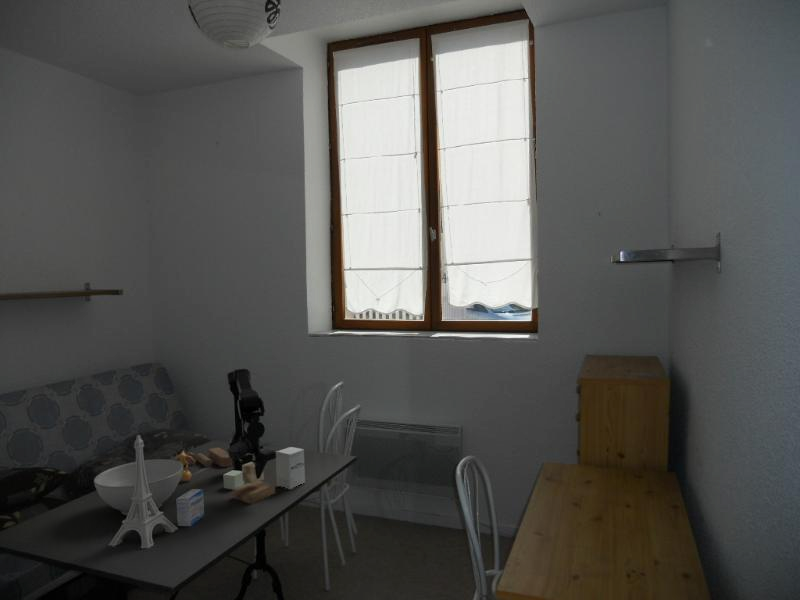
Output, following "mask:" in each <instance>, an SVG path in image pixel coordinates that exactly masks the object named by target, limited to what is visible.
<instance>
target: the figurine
mask: <svg viewBox="0 0 800 600" xmlns="http://www.w3.org/2000/svg"><path fill="white" fill-rule="evenodd" d="M186 454H187V453H185V451H184V450H183V451H181V453H180V454H178V455H177V456H175V457H174V458H173V460H174V461H176V459H177V460H178V458H180V459H181V461H180V463H182V464H184V463H185V465H187V466H185V470H184V469H183V472H182V476H181V479H180V481H182V482H184V483H185V482H188V481H190V480H191V478H192V473H191V471H189V470H188V467H189V466H188V463H187V461H185V459H186V457H188V458H191V459H192V460H193V461H195V463H196V459H195V460H194V459H193V458H192V457H191V456H188V455H186ZM196 464H197V463H196Z"/></svg>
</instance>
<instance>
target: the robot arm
mask: <svg viewBox="0 0 800 600" xmlns="http://www.w3.org/2000/svg"><path fill="white" fill-rule="evenodd" d="M225 378H226V386H228V387H227V388H228V389H229V390H230V393H232V406H233V410H232V411H233V431H232V432H231V434H230V437H229V440H230V441H229V442H228V446H227V454H228V455H229V458H231V459H232V465H233V466H232V468H231V469H229V470H228V472H230V471H232V470H235V471H242V465H244V464H247V463H250V462H252V463H254V464H255V471H256V477H257V479H259V478H260V477H261V474H262V472H263V470H265V466H266V465H267V464H268V462H269V461H272V460H276V452H277V451H275V450H274V449H271V448H270V449H269V448H265V449H264V445H262V444H261V438H263V436H264V434H265V431H266V428H265V425H264V423H262V421H261V420H260V417H264V416H265V412H266V410H265V405H264V401H263V400H262V397H261V396H259V393H258V392H257V391H256V390H254V389H253V387H252V384H251V381H252V378H251V371H250V370H249V369H248V368H237V369H236V368H235V369H234V370H233V371H230V372H228V373H227V374H226V377H225ZM262 449H263V450H262ZM253 458H254V459H253Z"/></svg>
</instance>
